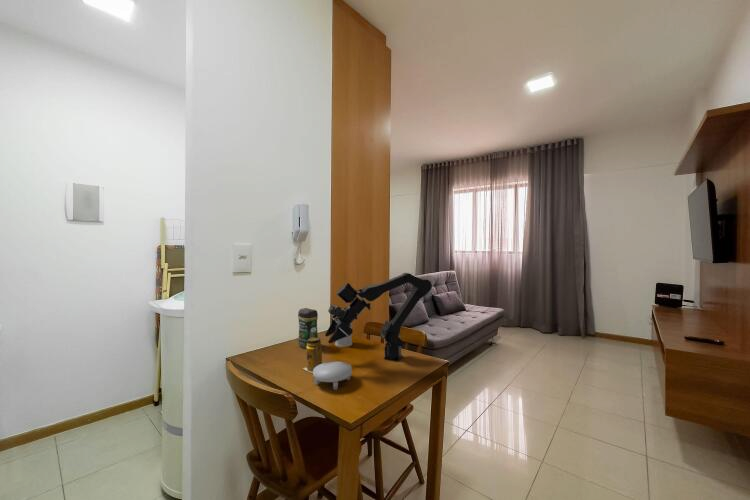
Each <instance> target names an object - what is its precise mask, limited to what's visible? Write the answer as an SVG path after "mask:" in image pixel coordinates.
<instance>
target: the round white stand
mask: <svg viewBox="0 0 750 500" xmlns="http://www.w3.org/2000/svg"><path fill="white" fill-rule="evenodd" d="M352 374H353V367H352V366H351V364H349V363H348V362H343V361H328V362H324V363H323V362H322V364H320V365H318V366H316V367H315V368H314V369H313V373H312V377H313V379H314V385H315V386H317V385H320V382H322V383H332V389H333V390H335V391H337V390H338V389H339V382H342V381H344V380H346V381H349V380H351V375H352Z"/></svg>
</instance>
